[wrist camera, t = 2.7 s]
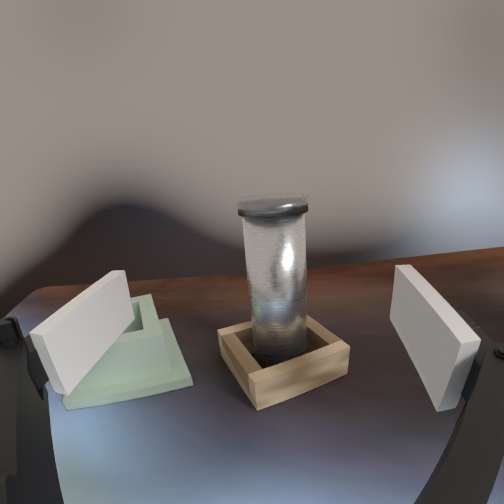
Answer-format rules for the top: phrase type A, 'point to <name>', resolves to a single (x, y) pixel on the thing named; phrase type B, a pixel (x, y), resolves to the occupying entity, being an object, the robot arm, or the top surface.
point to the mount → (283, 364)
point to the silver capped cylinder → (276, 274)
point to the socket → (134, 363)
